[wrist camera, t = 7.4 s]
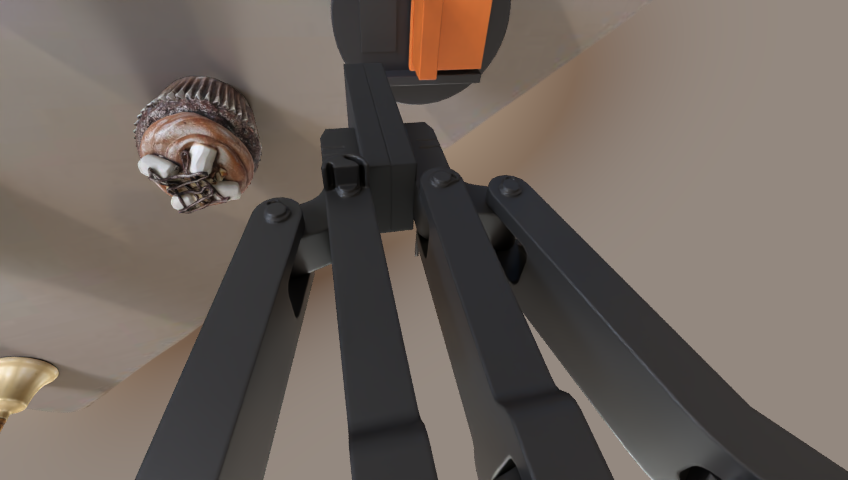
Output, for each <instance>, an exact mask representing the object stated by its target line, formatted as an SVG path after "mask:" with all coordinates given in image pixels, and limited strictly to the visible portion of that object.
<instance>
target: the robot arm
mask: <svg viewBox="0 0 848 480" xmlns="http://www.w3.org/2000/svg"><path fill="white" fill-rule="evenodd" d="M344 76H345V88H346V101H347V113H348V126H349V128H339V129H325V131H324V133H323V134H322V136H321V138H320V141H321V151H322V162H323V163H322V167H321V170H322V177H323V184H324V189H323V191H322V192H321V194H320V195H319V196H317V197H316V198H314V199H313V200H311V201H308V202H306V203H303V204H300V205H299V203H298V202H296V201H294V200H292V199H289V198H284V197H282V198H272V199H269V200H266V201H264V202H262V203H261V204H259V205H258V206H257V207H256V208H255V209H254V211H253V212H252V215H251V217H250V219H249V221H248V224H247V226H246V228H245V230H244V233H243V235H242V237H241V239H240V242H239V244H238V246H237V249H236V251H235V253H234V255H233V258H232V260H231V262H230V264H229V267H228V269H227V271H226V274H225V276H224V278H223V280H222V283H221V285H220V287H219V289H218V292H217V294H216V296H215V299H214V301H213V303H212V305H211V308H210V310H209V312H208V314H207V317H206V319H205V321H204V324H203V326H202V328H201V331H200V333H199V335H198V337H197V339H196V342H195V344H194V346H193V349H192V351H191V353H190V356H189V358H188V360H187V362H186V364H185V367H184V369H183V371H182V374H181V376H180V378H179V381H178V383H177V385H176V387H175V390H174V392H173V394H172V397H171V399H170V401H169V403H168V405H167V408H166V410H165V412H164V414H163V417H162V419H161V421H160V424H159V426H158V428H157V430H156V433H155V435H154V437H153V440H152V442H151V444H150V446H149V449H148V451H147V453H146V455H145V458H144V460H143V463H142V465H141V467H140V469H139V471H138V474H137V476H136V479H135V480H263V478H264V474H265V470H266V466H267V462H268V458H269V454H270V450H271V446H272V442H273V438H274V434H275V430H276V426H277V422H278V418H279V414H280V410H281V406H282V402H283V398H284V394H285V390H286V386H287V382H288V378H289V374H290V370H291V366H292V362H293V358H294V354H295V350H296V346H297V342H298V338H299V334H300V330H301V326H302V322H303V318H304V314H305V310H306V306H307V302H308V298H309V294H310V290H311V286H312V282H313V278H314V271H315V270H317V269H320V268H322V267H325V266H327V265H329V264H332V269H333V280H334V290H335V300H336V309H337V320H338V330H339V340H340V350H341V360H342V370H343V380H344V390H345V400H346V410H347V421H348V432H349V451H350V463H351V474H352V480H438V478H437V473H436V469H435V464H434V460H433V455H432V451H431V446H430V442H429V438H428V434H427V431H426V428H425V425H424V423H423V422H422V420H421V418H420V415H419V411H418V407H417V402H416V397H415V393H414V388H413V384H412V379H411V375H410V370H409V365H408V360H407V356H406V351H405V346H404V342H403V338H402V332H401V328H400V323H399V319H398V314H397V310H396V305H395V300H394V295H393V291H392V286H391V281H390V277H389V272H388V268H387V263H386V258H385V254H384V250H383V244H382V240H381V235H380V233H386V232H395V231H404V230H412V229H413V222H414V221H415V224H416V228H417V231H416V244H415V256H418V254H419V252H420V256H421V260H422V263H423V266H424V270H425V274H426V277H427V281H428V284H429V288H430V291H431V295H432V298H433V302H434V305H435V309H436V312H437V316H438V319H439V323H440V326H441V330H442V333H443V337H444V340H445V344H446V348H447V351H448V354H449V358H450V361H451V365H452V369H453V372H454V375H455V379H456V383H457V386H458V390H459V393H460V397H461V400H462V404H463V407H464V411H465V414H466V418H467V421H468V425H469V429H470V432H471V436H472V439H473V445H474V458H475V466H476V471H477V476H478V480H614V478H613V476H612V474H611V472H610V470H609V468H608V466H607V464H606V461H605V459H604V457H603V455H602V453H601V451H600V449H599V447H598V444H597V442H596V440H595V438H594V436H593V434H592V432H591V430H590V428H589V425H588V423H587V421H586V419H585V417H584V415H583V413H582V411H581V409H580V407H579V406H578V404H577V402H576V400H575V399H574V398H573V397H572V396H571V395H570V394H569V393H566V392H564V391H562V390H559V389H558V387H557V386H556V385H555V383H554V381H553V379H552V377H551V375H550V373H549V370H548V368H547V366H546V364H545V362H544V359H543V357H542V355H541V353H540V350H539V348H538V346H537V344H536V341H535V339H534V337H533V335H532V333H531V330H530V328H529V326H528V324H527V321H526V319H525V317H524V315H525V316H526V317H527V319H528V320H529V321H530V323H531V324H532V325H533V327H535V329H536V331H537V332H538V333H539V334H540V336H541V337H542V338H543V340H544V341H545V342H546V344H547V345H548V346H549V348H550V349H551V350H552V352H553V353H554V354H555V356H556V357H557V358H558V360H559V361H560V362H561V364H562V365H563V366H564V368H565V369H566V370H567V372H568V373H569V374H570V376H571V377H572V378H573V380H574V381H575V382H576V384H577V385H578V386H579V388H580V389H581V390H582V392H583V393H584V394H585V396H586V397H587V398H588V400H590V402H591V404H592V405H593V406H594V408H595V409H596V410H597V412H598V413H599V414H600V415H601V417H602V418H603V419H604V421H605V422H606V423H607V425H608V426H609V428H610V429H611V430H612V432H613V433H614V434H615V435H616V437H617V438H618V439H619V441H620V442H621V443H622V445H623V446H624V447H625V449H626V450H627V451H628V453H629V454H630V455H631V456H632V457H633V459H634V460H635V461H636V462H637V464H638V465H639V466H640V467H641V468H642V470H643V471H644V472H645V473H646V474H647V475H648V476H649V477H650V478H651V479H652V480H848V471H846V470H845V469H843V468H842V467H840V466H839V465H837V464H836V463H834V462H832V461H831V460H830V459H828V458H827V457H825V456H824V455H822V454H821V453H819V452H818V451H816V450H815V449H813V448H812V447H810V446H809V445H807V444H806V443H804V442H803V441H801V440H800V439H798V438H797V437H795V436H794V435H792V434H791V433H789V432H788V431H786V430H785V429H783V428H782V427H780V426H779V425H777V424H776V423H774V422H773V421H771V420H770V419H768V418H767V417H765V416H764V415H762V414H761V413H759V412H758V411H756V410H755V409H753V408H752V407H750V406H749V405H748V404H747V403H746V402H745V401H744V400H743V399H742V398H741V397H740V396H739V395H738V394H737V393H736V392H735V391H734V390H733V389H732V388H731V387H730V386H729V385H728V384H727V383H726V382H725V381H724V380H723V379H722V378H721V377H720V376H719V375H718V374H717V373H716V372H715V371H714V370H713V369H712V368H711V367H710V366H709V365H708V364H707V363H706V362H705V361H704V360H703V359H702V358H701V357H700V356H699V355H698V354H697V353H696V352H695V351H694V350H693V349H692V348H691V347H690V346H689V345H688V344H687V343H686V342H685V341H684V340H683V339H682V338H681V337H680V336H679V335H678V334H677V333H676V332H675V331H674V330H673V329H672V328H671V327H670V326H669V325H668V324H667V323H666V322H665V321H664V320H663V319H662V318H661V317H660V316H659V315H658V314H657V313H656V312H655V311H654V310H653V309H652V308H651V307H650V306H649V305H648V304H647V303H646V302H645V301H644V300H643V299H642V298H641V297H640V296H639V295H638V294H637V293H636V292H635V291H634V290H633V289H632V288H631V287H630V286H629V285H628V284H627V283H626V282H625V281H624V280H623V279H622V278H621V277H620V276H619V275H618V274H617V273H616V272H615V271H614V270H613V269H612V268H611V267H610V266H609V265H608V264H607V263H606V262H605V261H604V260H603V259H602V258H601V257H600V256H599V255H598V254H597V253H596V252H595V251H594V250H593V249H592V248H591V247H590V246H589V245H588V244H587V243H586V242H585V241H584V240H583V239H582V238H581V237H580V236H579V235H578V234H577V233H576V232H575V231H574V230H573V229H572V228H571V227H570V226H569V225H568V224H567V223H566V222H565V221H564V220H563V219H562V218H561V217H560V216H559V215H558V214H557V213H556V212H555V211H554V210H553V209H552V208H551V207H550V206H549V205H548V204H547V203H546V202H545V201H544V200H543V199H542V198H541V197H540V196H539V195H538V194H537V193H536V192H535V191H534V190H533V189H532V188H531V187H530V186H529V185H528V184H527V183H526V182H524V181H523V180H522V179H520V178H517V177H514V176H508V175H503V176H497V177H495V178H493V179H492V180H491V181H490V183H489V185H488V187H487V186H479V185H473V184H468V183H466V182H464V181H463V179H462V177H461V176H460V175H459V174H458V173H457V172H455V171H454V170H452V169H450V167H449V165H448V163H447V160H446V158H445V156H444V153H443V151H442V149H441V147H440V144H439V142H438V140H437V137H436V135H435V133H434V130H433V129H432V128H431V127H430V126H428V125H427V124H426V123H425V122H417V123H403V121H402V118H401V115H400V112H399V109H398V106H397V104H396V101H395V98H394V95H393V92H392V89H391V87H390V84H389V81H388V78H387V75H386V72H385V69H384V67H383V64H382V63H361V64H344ZM413 220H414V221H413ZM523 313H524V315H523Z"/></svg>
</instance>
